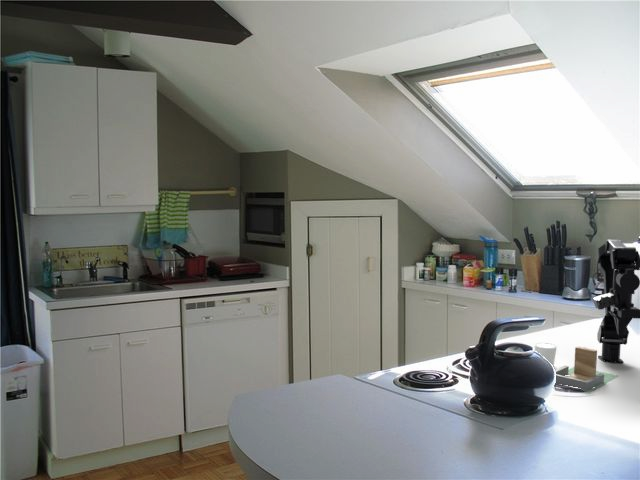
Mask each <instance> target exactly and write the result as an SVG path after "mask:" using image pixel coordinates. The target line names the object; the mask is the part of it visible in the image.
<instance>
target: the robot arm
mask: <svg viewBox="0 0 640 480" xmlns="http://www.w3.org/2000/svg"><path fill="white" fill-rule="evenodd" d="M595 261H596V265H597V269H598V271H599V272H600V274H601V275H602V276H603V288H604V289H603V290H604V293H603V294H600V295H597V296H595V297H593V298H592V300H593V304H594V307H595V308H596V309H598V310H600V311H601V310H605V314H604V316H603V318H602V320H601V323H600V325H599V327H598V330H597V336H596V337H597V338H596V339H597V342H598V343H599V344H602V346H601V355H597V359H600V360H601V361H602V362H604V363H616V364H617V363H619V364H620V363H621V364H623V363H624V360H623V359H622V358H621V345H627V344H628V339H629V334H630V330H629V329H628V326H629V324H630V323H631V321H632V320H633V319H640V309H639V308H638V307H635V304H634V303H633V302H632V301H633V295H635V291H636V290H637V289H639V288H640V278H639V276H638V275H637V274H635V271H640V254H639V251H638V250H637V248H636V247H635V246H626V245H625V244H624V243H623V240H620V239H610V238H609V239H606V240H605V242H604V244H603V245H600V247H598V248H597V252H596V256H595Z"/></svg>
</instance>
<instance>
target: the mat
mask: <svg viewBox="0 0 640 480" xmlns="http://www.w3.org/2000/svg"><path fill="white" fill-rule="evenodd" d="M600 373H602V374H604V382H603V383H601V384H600V385H598V386H596V387H595V388H594V389H590V390H588V391H585V390H583V391H584V392H586V393H591V392H592V391H594V390H597V389H598V388H599V387H601V386H603V385H605V384H607V383H609V382H611V381H613V380H615V379H617V378H618V377H619V375H618V374H614V373H608V372H603V371H598V370H596V375H598V374H600ZM572 374H574V366H573V367H571V368H569V370H568V374H567V375H572ZM556 385H557V386H560V385H559V384H556Z"/></svg>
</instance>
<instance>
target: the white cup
mask: <svg viewBox="0 0 640 480" xmlns="http://www.w3.org/2000/svg"><path fill="white" fill-rule="evenodd" d="M535 351H537V352H538V353H540V354H541V355H542V356H544V357H545V358H546V359H547V360H548V361H549V362H550V363H551V364H552V365H553V366H554V365H555V360H556V353H557V345H556V344H552V343H548V342H538V343H534V352H535Z"/></svg>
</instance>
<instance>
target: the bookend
mask: <svg viewBox="0 0 640 480" xmlns="http://www.w3.org/2000/svg"><path fill="white" fill-rule="evenodd" d="M574 350H575V351H574V364H573V365H574V366H573V367H574V374H572V375H570V376H567V377H571V378H575V379H580V380H584V381H586V380H588V379H590V378H592V377H594V376H596V371H597V359H598V350H597V349H593V348H588V347H583V346H576V347H574Z"/></svg>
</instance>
